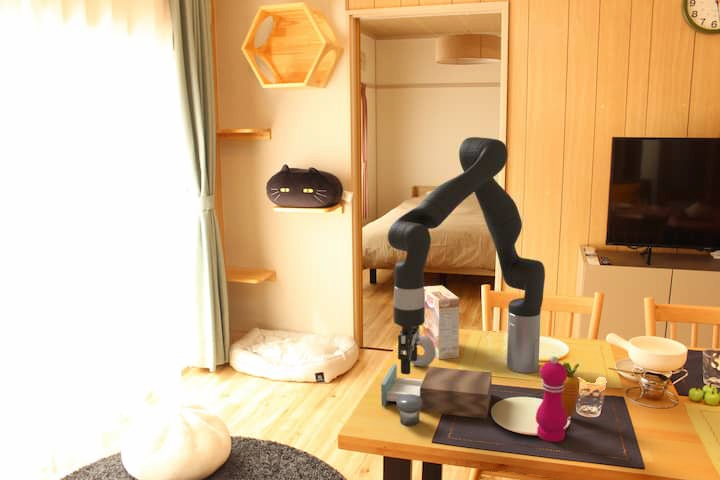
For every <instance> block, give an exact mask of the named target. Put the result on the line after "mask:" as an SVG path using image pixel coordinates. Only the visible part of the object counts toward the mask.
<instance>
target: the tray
mask: <svg viewBox="0 0 720 480" xmlns="http://www.w3.org/2000/svg"><path fill="white" fill-rule="evenodd" d="M397 375H398V374H397V364H394V363H393V364H392V365H391V367H390V369H389V370H388V372H387V374H386V375H385V378H384V379H383V381H382V383H381V384H380V385H381V387H380V388H381V389H380V391H381V406H383V407H385V406H386V405H387V404H388V401H389V402H396V403H397V398H398V397H399V396H401V395H406V394H413V395H417V396H419V397H420V387H421V385H422V382H423V380H424V379H418V378H417V379H416V378H409V377H408V378H407V377H397Z"/></svg>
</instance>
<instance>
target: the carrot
mask: <svg viewBox="0 0 720 480" xmlns="http://www.w3.org/2000/svg"><path fill="white" fill-rule="evenodd" d="M562 365H563V366H564V367H565V368H566V371H567V378H566V380H565V381H564V382H563V383H564V390H563V391H562V394H561V399H562V404H563V406H564V408H565V411H566V413H567V417H569V418H570V417H571V416H572V414H573V413H574V411H575V410H576V407H577V403H578V399H579V392H580V382H581V381H580V379H579V377H578V376H577V375H576V374H575V372H577V369H578V367H580V364H579V363H575V365H574V367H573V369H572V367H571V365H570V362H566V361H563V362H562Z"/></svg>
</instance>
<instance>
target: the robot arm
mask: <svg viewBox="0 0 720 480" xmlns="http://www.w3.org/2000/svg"><path fill="white" fill-rule="evenodd" d="M508 156H509V155H508V147H507V146H506V144H505V143H504V142H503V141H502V140H499V139H496V138H490V137H478V136H471V137H467V138H465V139H464V140H463V141H462V142H461V144H460V146H459V150H458V158H459V163H460V166H461V168H462V171H463V172H461V174H459V175H456V176H455V177H453V178H451V179H449V180H447V181H445V182H444V183H442V184H440V185H437V187H435V188H434V189H433V190H432V191H431V192H430V193H429V194H428V195H427V196H426V197H424V199H423V200H421V202H420V204H418V206H416V207H414V208H412V209H410V210H409V211H408V212H405V214H403V215H401V216H400V217H398V218H397V219H395V221H393V223H392V224H391V225H390V228H389V230H388V231H387V232H388V233H387V242H388V243H389V245H390V246H391V247H392V248H393V249H395V250H399V251H403V252H406V257H405V259H404V260H398V262H396V263H395V265H394V276H393V277H394V285H393V286H394V287H393V288H394V290H393V323H395V324H396V325H397V326H400V327H401V330H400V331H399V334H398V336H397V340H398V341H397V346H398V347H397V359H398V360H400V373H401V375H410V374H411V362H410V361H416V360H417V354H418V346H419V345H418V344H419V343H418V341H419V340H420V337H419V334H420V326H423V323H424V322H425V292H424V287H425V284H424V283H425V279H424V277H425V267H426V263H427V259H428V256H429V252H430V248H431V244H432V238H431V233H430V231H429V230H430V229H433V230H434V229H436V228H437V227H439V226H441V225H442V223H443V222H445V220H447V218H448V217H449V216H450V215H451V214H452V212H453V211H454V210H455V209H456V208H457V207H458V206H459V205H460V204H462V203H463V202H464V201H465V200H466V199H467V198H469V196H471V195H472V194H473V193H474V195H475V197H476V199H477V202H478V205H479V207H480V209H481V212H482V215H483V219H484V222H485V224H486V227H487V229H488V231H489V234H490V237H491V239H492V242H493V244H494V245H493V246H494V248H495V251H496V253H497V259H498V261H499V266H500V271H501V275H502V277H503V280H504V282H505V284H506V285H507V286H508V287H510V288H512V289H515V290H516V289H517V290H520V291H524V296H523V297H519V298H514V299H512V300H511V301H509V303H508V307H507V311H508V312H507V340H506V341H507V343H506V344H507V346H506V347H507V348H506V367H507V369H509V370H511V371H513V372H517V373H522V374H523V373H525V374H528V373H529V374H530V373H535V372H536V373H538V372H539V367H540V365H539V363H540V337H541V312H542V305H543V301H544V289H545V281H546V280H545V279H546V269H545V265H544V263H543V262H542V261H540V260H537V259H530V258H525V257H521V256H520V255H519V254H518V253H517V250H516V249H517V248H516V243H517V241H518V239H519V237H520V235H521V231H522V228H523V223H522V219H521V216H520V215H521V214H520V212H519V209H518V206H517V204H516V202H515V200H514V199H513V198H512V197H511V196H510V194H509V193H508V192H507V191H506V190H505V189H504V188H503V187H502V186H501V185H500V184H499V183H498V182H497V181H496V179H495V178H494V177H495V176H497V175H498V174H500V172H501V171H502V170H503V169H504V168H505V165H506V164H507V162H508ZM405 351H406V355H405V353H404V352H405Z"/></svg>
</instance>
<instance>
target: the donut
mask: <svg viewBox="0 0 720 480" xmlns="http://www.w3.org/2000/svg"><path fill="white" fill-rule="evenodd" d="M419 337H420V340H419V341H418V343H419V344H418V346H419V347H421V348H422V349H423V350H424V351H423V352H424V354H421V355H420V354H419V353H417V360H416V361H410V364H413V365H414V366H417V367H426V366H429V365H431V364H432V363H433V361H434V359H435V358H436V356H435V354H436V351H435V346H434V344H433V342H432V341H431V340H430V339H429V338H428V337H426V336H424V335H423V334H420V333H419ZM404 354H405V355H406V351H405V350H404Z"/></svg>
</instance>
